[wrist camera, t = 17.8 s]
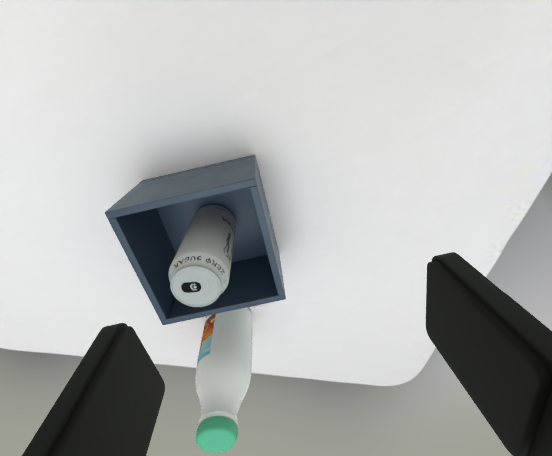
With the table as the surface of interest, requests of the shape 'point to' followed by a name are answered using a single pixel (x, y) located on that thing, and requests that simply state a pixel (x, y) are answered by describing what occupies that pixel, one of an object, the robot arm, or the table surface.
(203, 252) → the energy drink can
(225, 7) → the table surface
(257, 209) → the open storage box
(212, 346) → the milk bottle
